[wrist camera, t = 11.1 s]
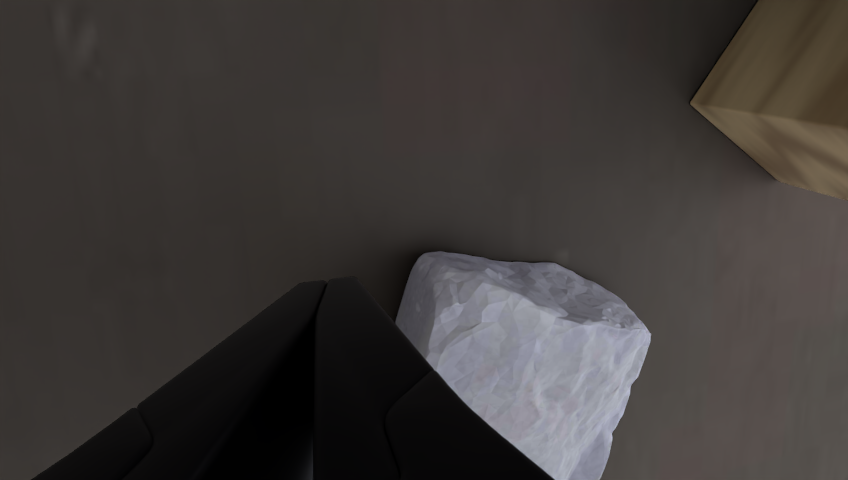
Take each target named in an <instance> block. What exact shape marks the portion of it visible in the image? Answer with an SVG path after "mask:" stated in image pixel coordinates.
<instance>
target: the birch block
mask: <svg viewBox="0 0 848 480" xmlns="http://www.w3.org/2000/svg"><path fill="white" fill-rule="evenodd" d="M690 105H691V106H693V107H694V108H695V109H696V110H697V111H698V112H700V113H701V114H702V115H703V116H704V117H705V118H706V119H708V120H709V121H710V122H711V123H712V124H713V125H714V126H716V127H717V128H718V129H719V130H720V131H721V132H723V133H724V134H725V135H726V136H727V137H728V138H729V139H731V140H732V141H733V142H734V143H735V144H736V145H737V146H739V147H740V148H741V149H742V150H743V151H744V152H746V153H747V154H748V155H749V156H750V157H751V158H752V159H754V160H755V161H756V162H757V163H758V164H759V165H761V166H762V167H763V168H764V169H765V170H766V171H767V172H769V173H770V174H771V175H772V176H773V177H774V178H775V179H777V180H778V181H779V182H782V183H786V184H789V185H793V186H797V187H800V188H804V189H808V190H811V191H815V192H819V193H822V194H826V195H829V196H833V197H837V198H840V199H844V200H848V0H758V2H757V3H756V5H755V6H754V8H753V9H752V11H751V12H750V14H749V15H748V17H747V18H746V20H745V21H744V23H743V24H742V26H741V27H740V29H739V30H738V32H737V33H736V35H735V36H734V38H733V39H732V41H731V42H730V44H729V45H728V47H727V48H726V50H725V51H724V53H723V54H722V56H721V57H720V59H719V60H718V62H717V63H716V65H715V66H714V68H713V69H712V71H711V72H710V74H709V75H708V77H707V78H706V80H705V81H704V83H703V84H702V86H701V87H700V89H699V90H698V92H697V93H696V94H695V96H694V97H693V99H692V100H691V102H690Z"/></svg>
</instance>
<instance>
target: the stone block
mask: <svg viewBox="0 0 848 480" xmlns="http://www.w3.org/2000/svg"><path fill="white" fill-rule="evenodd" d="M395 324H396V325H397V326H398V327H399V328H400V330H401V331H402V332H403V333H404V334H405V336H406V337H407V338H408V339H409V340H410V341H411V343H412V344H413V345H414V346H415V347H416V349H417V350H418V351H419V352H420V353H421V354H422V356H423V357H424V358H425V359H426V360H427V361H428V363H429V364H430V365H431V366H432V367H433V369H434V370H435V371H437V372H438V373H439V374H440V376H441V377H442V378H443V379H444V380H445V382H446V383H447V384H448V385H449V386H450V387H451V388H452V389H453V391H454V392H455V393H456V394H457V395H458V396H459V397H460V398H461V399H462V400H463V401H464V402H465V403H466V404H467V405H468V406H469V407H470V408H471V409H472V410H473V411H474V412H475V413H476V414H478V415H479V416H480V417H481V418H482V419H483V420H484V421H485V422H487V423H488V424H489V425H490V426H491V427H492V428H493V429H495V430H496V431H497V432H498V433H499V434H501V435H502V436H503V437H504V438H505V439H507V440H508V441H509V442H510V443H511V444H513V445H514V446H515V447H516V448H517V449H519V450H520V451H521V452H522V453H523V454H525V455H526V456H527V457H528V458H530V459H531V460H532V461H533V462H534V463H536V464H537V465H538V466H539V467H540V468H542V469H543V470H544V471H545V472H546V473H548V474H549V475H550V476H551V477H552V478H554V479H555V480H599V479H600V477H601V475H602V473H603V471H604V468H605V465H606V463H607V460H608V457H609V453H610V448H611V443H612V439H613V437H612V432H613V431H614V429H615V428H616V427H617V424H618V422H619V420H620V418H621V417H622V416H623V413H624V410H625V407H626V404H627V401H628V398H629V395H630V388H631V385H632V383H633V382H634V381H635V379H636V378H638V375H639V372H640V370H641V367H642V365H643V362H644V359H645V356H646V353H647V350H648V346H649V344H650V341H651V339H650V336H651V334H650V333H649V331H648V330H647V328H646V326H645V325H644V324H643V322H641V321H640V320H639V319H638V318H637V316H636V315H635V313H634V312H633V311H631V310H630V309H629V308H628V307H627V305H626V303H625V302H624V301H623V300H621V299H620V298H619V297H618V296H616V295H615V294H613V293H611V292H610V291H608V290H606V289H604V288H603V287H602V286H600V285H598V284H596V283H595V282H593V281H590V280H586V279H585V278H583V277H581V276H579V275H577V274H575V273H574V272H573V271H571V270H568V269H566V268H564V267H562V266H560V265H558V264H556V263H550V262H539V263H527V262H504V261H495V260H489V259H487V258H485V257H476V256H470V255H466V254H457V253H447V252H443V251H437V252H429V253H424V254H423V255H421V256H420V257H419V258H418V260H417V262H416V263H415V265H414V266H413V268H412V270H411V273H410V276H409V279H408V281H407V284H406V287H405V291H404V294H403V297H402V301H401V304H400V307H399V311H398V314H397V317H396V321H395Z"/></svg>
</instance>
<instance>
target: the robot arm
mask: <svg viewBox="0 0 848 480" xmlns="http://www.w3.org/2000/svg"><path fill="white" fill-rule="evenodd" d="M137 408H138V409H137ZM137 408H131V409H130V410H129V411H127V412H126V413H125V414H123V415H122V416H121V417H119V418H118V419H117V420H116V421H114V422H113V423H112V424H110V425H109V426H108V427H106V428H105V429H103V430H102V431H101V432H99V433H98V434H96V435H95V436H94V437H92V438H91V439H90V440H88V441H87V442H85V443H84V444H83V445H81V446H80V447H78V448H77V449H76V450H74V451H73V452H72V453H70V454H69V455H67V456H66V457H64V458H63V459H61V460H60V461H58V462H57V463H55V464H54V465H52V466H51V467H49V468H48V469H46V470H45V471H43V472H42V473H40V474H39V475H37V476H36V477H34V478H33V479H31V480H555V479H554V478H552V477H551V476H550V475H549V474H548V473H546V472H545V471H544V470H543V469H542V468H540V467H539V466H538V465H537V464H536V463H534V462H533V461H532V460H531V459H530V458H528V457H527V456H526V455H525V454H523V453H522V452H521V451H520V450H519V449H517V448H516V447H515V446H514V445H513V444H511V443H510V442H509V441H508V440H507V439H505V438H504V437H503V436H502V435H501V434H499V433H498V432H497V431H496V430H495V429H493V428H492V427H491V426H490V425H489V424H488V423H487V422H485V421H484V420H483V419H482V418H481V417H480V416H479V415H478V414H476V413H475V412H474V411H473V410H472V409H471V408H470V407H469V406H468V405H467V404H466V403H465V402H464V401H463V400H462V399H461V398H460V397H459V396H458V395H457V394H456V393H455V392H454V391H453V389H452V388H451V387H450V386H449V385H448V384H447V383H446V382H445V380H444V379H443V378H442V377H441V376H440V374H439V373H438V372H437V371H435V370H434V369H433V367H432V366H431V365H430V364H429V363H428V361H427V360H426V359H425V358H424V357H423V356H422V354H421V353H420V352H419V351H418V350H417V349H416V347H415V346H414V345H413V344H412V343H411V341H410V340H409V339H408V338H407V337H406V336H405V334H404V333H403V332H402V331H401V330H400V328H399V327H398V326H397V325H396V324H395V323H394V321H393V320H392V319H391V318H390V317H389V315H388V314H387V313H386V312H385V311H384V310H383V308H382V307H381V306H380V305H379V304H378V302H377V301H376V300H375V299H374V298H373V297H372V295H371V294H370V293H369V292H368V291H367V289H366V288H365V287H364V286H363V285H362V284H361V282H360V281H359V280H358V279H357V278H356V277H344V278H336V279H331V280H330V281H329V282H328V283H327V282H326V281H324V280H320V281H311V282H303V283H300V284H298V285H297V286H295V287H294V288H293V289H291V290H290V291H289V292H287V293H286V294H285V295H283V296H282V297H281V298H279V299H278V300H277V301H275V302H274V303H273V304H271V305H270V306H269V307H267V308H266V309H265V310H263V311H262V312H261V313H259V314H258V315H257V316H255V317H254V318H253V319H251V320H250V321H249V322H247V323H246V324H245V325H243V326H242V327H241V328H239V329H238V330H237V331H235V332H234V333H233V334H231V335H230V336H229V337H227V338H226V339H225V340H224V341H222V342H221V343H220V344H218V345H217V346H216V347H214V348H213V349H212V350H210V351H209V352H208V353H206V354H205V355H204V356H202V357H201V358H200V359H198V360H197V361H196V362H194V363H193V364H192V365H190V366H189V367H188V368H186V369H185V370H184V371H182V372H181V373H180V374H178V375H177V376H176V377H174V378H173V379H172V380H170V381H169V382H168V383H166V384H165V385H164V386H162V387H161V388H160V389H158V390H157V391H156V392H154V393H153V394H152V395H150V396H149V397H148V398H146V399H145V400H144V401H142V402H141V403H140V404H139V405H138V407H137Z"/></svg>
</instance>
